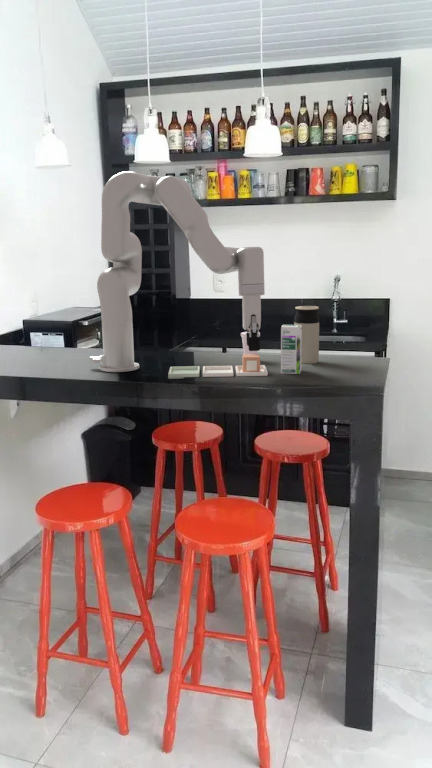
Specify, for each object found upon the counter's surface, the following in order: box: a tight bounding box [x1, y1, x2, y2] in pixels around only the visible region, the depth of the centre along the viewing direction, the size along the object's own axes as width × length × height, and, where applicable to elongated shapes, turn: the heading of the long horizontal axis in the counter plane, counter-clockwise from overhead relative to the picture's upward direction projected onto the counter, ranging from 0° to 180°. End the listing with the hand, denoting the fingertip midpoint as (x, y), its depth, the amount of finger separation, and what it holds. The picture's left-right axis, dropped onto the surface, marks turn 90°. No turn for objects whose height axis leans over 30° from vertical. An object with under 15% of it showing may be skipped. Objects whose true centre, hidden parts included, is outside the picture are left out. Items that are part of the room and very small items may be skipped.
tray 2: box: [202, 365, 235, 378], centre depth 194 cm, size 9×11×2 cm
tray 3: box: [234, 364, 269, 377], centre depth 194 cm, size 9×11×2 cm
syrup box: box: [280, 324, 302, 375], centre depth 193 cm, size 6×6×14 cm
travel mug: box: [293, 305, 320, 365], centre depth 209 cm, size 8×8×18 cm
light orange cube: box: [241, 353, 261, 372], centre depth 194 cm, size 5×5×5 cm
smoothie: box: [240, 331, 261, 354], centre depth 212 cm, size 6×6×14 cm
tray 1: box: [167, 365, 201, 380], centre depth 194 cm, size 9×11×2 cm
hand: (253, 348), depth 193 cm, fingers open, 9 cm apart
